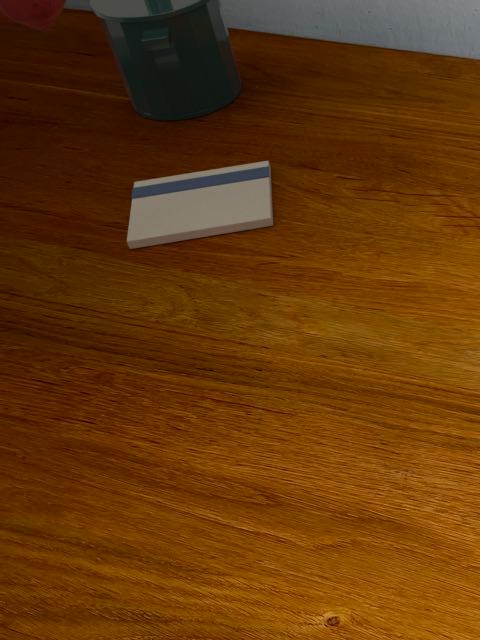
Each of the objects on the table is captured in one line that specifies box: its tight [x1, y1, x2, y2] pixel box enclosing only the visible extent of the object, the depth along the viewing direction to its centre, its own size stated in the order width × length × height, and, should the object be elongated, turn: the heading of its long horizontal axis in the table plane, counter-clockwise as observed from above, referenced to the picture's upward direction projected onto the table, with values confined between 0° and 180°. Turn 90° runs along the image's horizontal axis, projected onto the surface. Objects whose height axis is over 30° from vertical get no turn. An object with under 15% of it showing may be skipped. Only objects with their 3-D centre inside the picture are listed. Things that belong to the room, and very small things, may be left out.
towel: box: [126, 160, 274, 250], centre depth 91 cm, size 12×10×1 cm
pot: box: [99, 0, 243, 122], centre depth 103 cm, size 11×16×10 cm
